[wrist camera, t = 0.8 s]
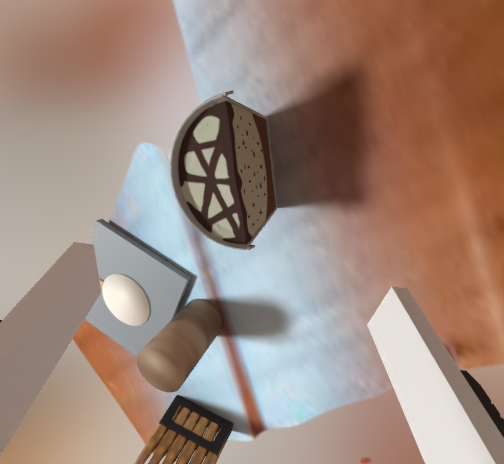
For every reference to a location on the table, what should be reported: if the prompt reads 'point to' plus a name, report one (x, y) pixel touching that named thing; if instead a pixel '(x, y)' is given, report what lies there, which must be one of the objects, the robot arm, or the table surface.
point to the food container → (225, 171)
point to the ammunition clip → (187, 435)
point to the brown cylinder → (180, 345)
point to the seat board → (133, 289)
